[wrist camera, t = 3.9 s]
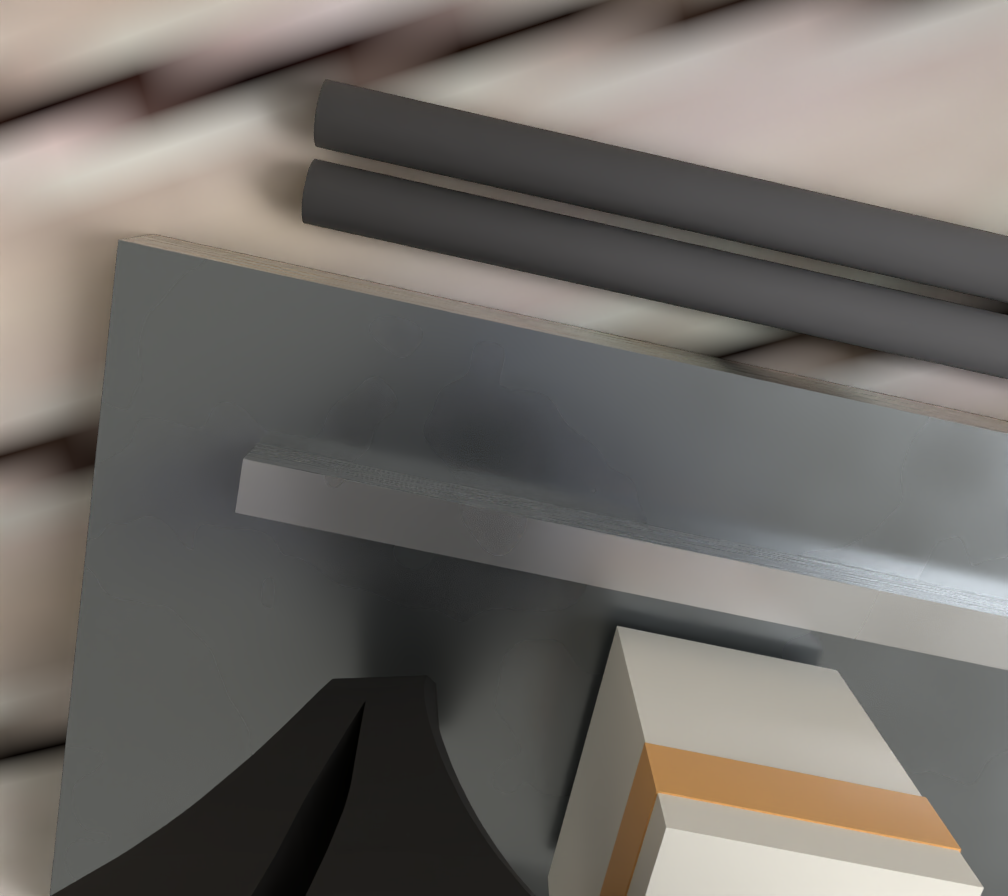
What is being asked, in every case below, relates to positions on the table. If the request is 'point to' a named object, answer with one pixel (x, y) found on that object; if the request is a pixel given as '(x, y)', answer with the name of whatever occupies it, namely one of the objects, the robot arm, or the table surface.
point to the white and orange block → (742, 786)
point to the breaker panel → (500, 543)
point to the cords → (663, 200)
